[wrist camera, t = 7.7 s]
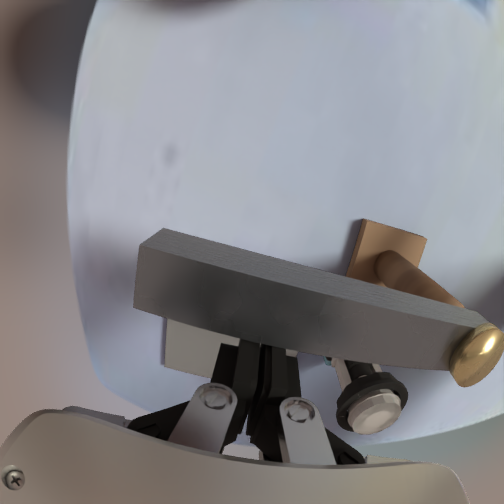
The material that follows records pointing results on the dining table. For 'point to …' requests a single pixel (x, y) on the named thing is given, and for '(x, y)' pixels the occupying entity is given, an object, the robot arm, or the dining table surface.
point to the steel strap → (309, 309)
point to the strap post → (394, 262)
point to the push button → (367, 396)
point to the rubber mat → (196, 348)
